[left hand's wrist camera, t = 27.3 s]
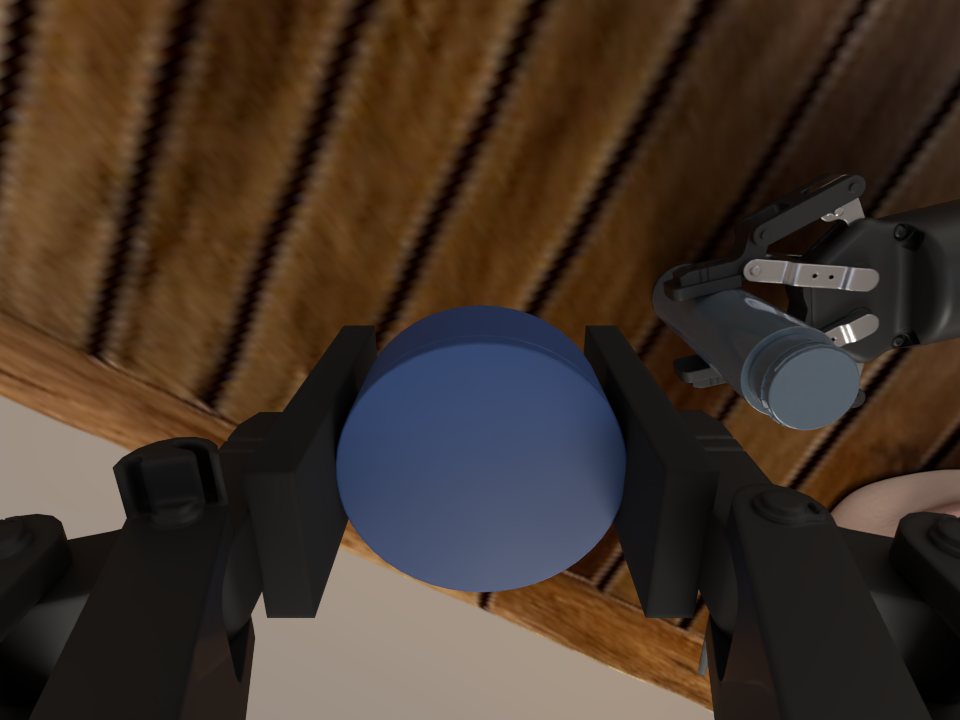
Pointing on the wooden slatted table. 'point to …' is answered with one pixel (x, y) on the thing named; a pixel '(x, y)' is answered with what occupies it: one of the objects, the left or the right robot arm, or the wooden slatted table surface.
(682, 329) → the jar
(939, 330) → the right robot arm
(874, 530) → the anatomical model
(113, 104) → the wooden slatted table surface
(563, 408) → the lid
